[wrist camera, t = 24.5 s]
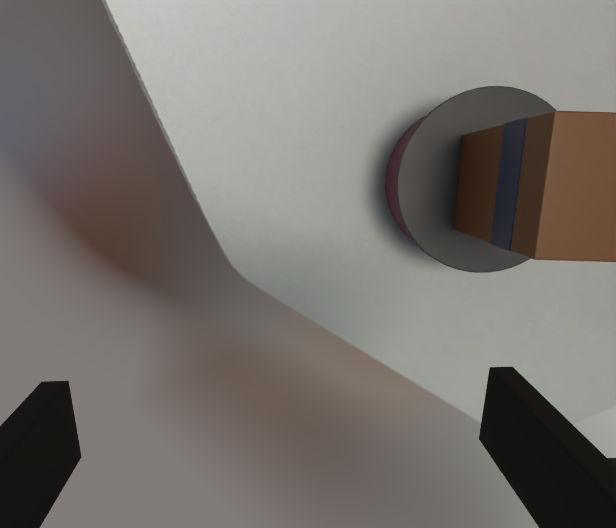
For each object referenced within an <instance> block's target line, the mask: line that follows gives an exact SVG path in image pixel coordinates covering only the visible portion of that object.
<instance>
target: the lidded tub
mask: <svg viewBox="0 0 616 528" xmlns="http://www.w3.org/2000/svg"><path fill="white" fill-rule="evenodd" d="M553 111H557V110H555V109H554V108H553V107H552V106H551V105H550V104H548V103H547V102H546V101H544V100H543V99H541V98H539V97H538V96H536V95H534V94H531V93H529V92H527V91H524V90H520V89H517V88H512V87H504V86H488V87H482V88H476V89H473V90H469V91H466V92H463V93H461V94H458V95H456V96H454V97H452V98H450V99H448V100H447V101H445V102H443V103H442V104H440V105H439V106H437V107H436V108H435V109H434V110H432V111H431V112H430V113H429V114H428V115H427V116H425V117H423V118H422V119H420V120H419V121H417V122H416V123H415V124H414V125H412V126H411V127H410V128H409V129H408V130H407V131H406V132H405V134H404V135H403V136H402V137H401V139H400V140H399V141H398V143H397V145H396V147H395V148H394V150H393V153H392V155H391V157H390V160H389V163H388V167H387V172H386V182H385V189H386V198H387V202H388V206H389V209H390V211H391V214H392V216H393V218H394V219H395V221H396V223H397V224H398V226H399V227H400V228H401V230H402V231H403V232H404V233H405V234H406V235H407V236H408V237H410V238H411V239H412V240H413V241H415V243H416V244H417V245H418V246H419V247H420V248H421V249H422V250H423V251H424V252H426V253H427V254H428V255H430V256H431V257H432V258H434V259H435V260H437V261H439V262H441V263H442V264H444V265H447V266H449V267H452V268H455V269H459V270H462V271H468V272H494V271H500V270H504V269H508V268H511V267H514V266H516V265H519V264H521V263H523V262H525V261H527V260H529V259H531V258H529V257H527V256H524V255H521V254H519V253H516V252H510V251H507V250H504V249H502V248H499V247H497V246H494V245H491V244H490V243H489V242H486V241H484V240H481V239H478V238H476V237H473V236H470V235H468V234H465V233H462V232H459V231H457V230H454V221H455V210H456V200H457V190H458V180H459V170H460V160H461V150H462V140H463V135H465V134H469V133H473V132H476V131H480V130H484V129H488V128H492V127H496V126H499V125H503V124H505V123H506V122H510V121H514V120H517V119H521V118H525V117H534V116H538V115H542V114H545V113H549V112H553Z"/></svg>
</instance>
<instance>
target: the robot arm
mask: <svg viewBox="0 0 616 528" xmlns="http://www.w3.org/2000/svg"><path fill="white" fill-rule="evenodd" d="M479 440H480V441H481V443H482V444H483V445H484V447H485V448H486V450H487V451H488V453H489V454H490V456H491V457H492V459H493V460H494V462H495V463H496V465H497V466H498V467H499V469H500V471H501V472H502V473H503V475H504V476H505V477H506V479H507V481H508V482H509V484H510V485H511V487H512V488H513V490H514V491H515V493H516V494H517V496H518V497H519V498H520V500H521V501H522V503H523V504H524V506H525V507H526V509H527V510H528V512H529V513H530V515H531V516H532V518H533V519H534V521H535V522H536V524H537V525H538V526H539V528H616V458H606V457H605V456H604V455H603V454H602V453H601V452H600V451H599V450H598V449H597V448H596V447H595V446H594V445H593V444H592V443H591V442H590V441H588V439H587V438H586V437H584V436H583V435H582V434H581V433H580V432H579V431H578V430H577V429H576V428H575V427H574V426H573V425H572V424H571V423H570V422H569V421H568V420H567V419H566V418H565V417H564V416H563V415H562V414H561V413H560V412H559V411H558V410H557V409H556V408H555V407H554V406H552V405H551V404H550V403H549V402H548V401H547V400H546V399H545V398H544V397H543V396H542V395H541V394H540V393H539V392H538V391H537V390H536V389H535V388H534V387H533V386H532V385H531V384H530V383H529V382H528V381H527V380H526V379H525V378H524V377H523V376H521V375H520V374H519V373H518V372H517V371H516V370H515V369H514V368H513V367H490V370H489V376H488V383H487V389H486V396H485V403H484V409H483V416H482V422H481V429H480V436H479ZM80 458H81V452H80V446H79V440H78V434H77V428H76V423H75V416H74V411H73V405H72V399H71V393H70V387H69V382H68V381H51V382H41V383H40V384H39V385H38V386H37V387H36V389H35V390H34V391H33V392H32V393H31V394H30V395H29V396H28V397H27V398H26V399H25V401H23V402H22V404H21V405H20V406H19V407H18V408H17V409H16V410H15V411H14V412H13V413H12V414H11V415H10V416H9V418H8V419H7V420H6V421H5V422H4V423H3V424H2V425H1V426H0V528H40V526H41V524H42V523H43V521H44V519H45V518H46V516H47V514H48V513H49V511H50V509H51V507H52V506H53V504H54V502H55V501H56V499H57V497H58V496H59V494H60V492H61V491H62V489H63V487H64V486H65V484H66V482H67V480H68V479H69V477H70V475H71V474H72V472H73V470H74V469H75V467H76V465H77V463H78V462H79V460H80Z"/></svg>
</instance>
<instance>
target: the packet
mask: <svg viewBox="0 0 616 528" xmlns="http://www.w3.org/2000/svg"><path fill="white" fill-rule="evenodd" d="M454 230H457V231H459V232H462V233H465V234H468V235H470V236H473V237H476V238H478V239H481V240H484V241H486V242H489V243H490V244H491V245H494V246H497V247H499V248H502V249H504V250H507V251H510V252H516V253H519V254H521V255H524V256H527V257H529V258H532V259H535V260H568V261H602V262H616V113H609V112H577V111H553V112H549V113H545V114H542V115H538V116H534V117H525V118H521V119H517V120H514V121H510V122H506V123H505V124H503V125H499V126H496V127H492V128H488V129H484V130H480V131H476V132H473V133H469V134H465V135H463V140H462V150H461V160H460V170H459V180H458V190H457V200H456V210H455V221H454Z"/></svg>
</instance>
